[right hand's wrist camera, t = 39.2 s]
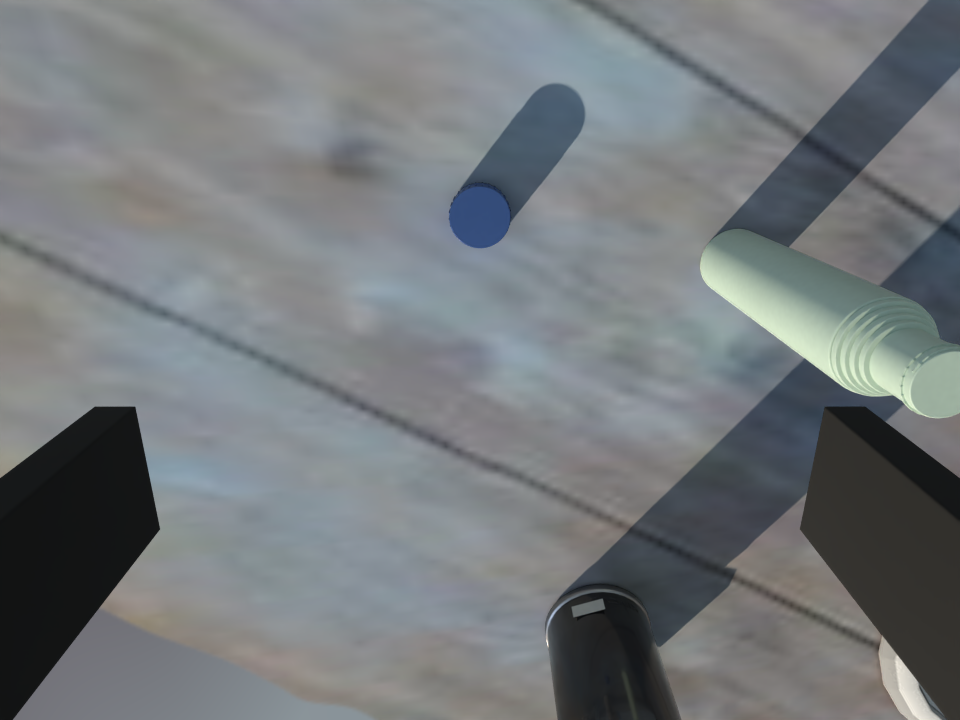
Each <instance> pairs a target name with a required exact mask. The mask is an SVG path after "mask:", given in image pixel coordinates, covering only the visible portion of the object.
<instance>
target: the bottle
mask: <svg viewBox="0 0 960 720" xmlns="http://www.w3.org/2000/svg"><path fill="white" fill-rule="evenodd" d="M700 268H701V274H702V277H703V279H704V281H705V282H706V284H707V285H708V286H709V287H710V288H711V289H713V290H714V291H715V292H717V293H718V294H719V295H721V296H722V297H723V298H725V299H726V300H728V301H729V302H730V303H732V304H733V305H734V306H736V307H737V308H738V309H740V310H741V311H742V312H744V313H745V314H746V315H748V316H749V317H750V318H752V319H753V320H754V321H756V322H757V323H758V324H760V325H761V326H762V327H764V328H765V329H766V330H768V331H769V332H770V333H772V334H773V335H774V336H776V337H777V338H778V339H780V340H781V341H782V342H784V343H785V344H786V345H788V346H789V347H790V348H792V349H793V350H794V351H796V352H797V353H798V354H800V355H801V356H803V357H804V358H805V359H807V360H808V361H809V362H811V363H812V364H813V365H815V366H816V367H817V368H819V369H820V370H821V371H823V372H824V373H825V374H827V375H828V376H829V377H831V378H832V379H833V380H835V381H836V382H837V383H839V384H840V385H841V386H843V387H844V388H846V389H848V390H850V391H852V392H855V393H858V394H862V395H865V396H876V397H878V396H889V395H894V396H895V397H897V398H898V399H900V400H901V401H903V402H904V404H905V405H906V406H907V407H908V408H909V409H910V410H912V411H914V412H916V413H918V414H920V415H924V416H927V417H931V418H946V417H950V416H953V415H956V414H958V413H960V345H957V344H953V343H948V342H946V341H944V340H942V339H940V337H939V333H938V329H937V326H936V324H935V322H934V319H933V318H932V317H931V315H930V314H929V313H928V312H927V311H926V310H925V309H924V308H923V307H922V306H921V305H919V304H918V303H917V302H915V301H913V300H911V299H908V298H906V297H904V296H901V295H899V294H897V293H894V292H892V291H890V290H887V289H885V288H883V287H880V286H878V285H875V284H873V283H871V282H868V281H866V280H864V279H861V278H859V277H857V276H854V275H852V274H850V273H847V272H845V271H843V270H840V269H838V268H836V267H833V266H831V265H829V264H826V263H824V262H822V261H819V260H817V259H815V258H812V257H810V256H808V255H805V254H803V253H801V252H798V251H796V250H793V249H791V248H789V247H786V246H784V245H782V244H779V243H777V242H775V241H772V240H770V239H768V238H765V237H763V236H761V235H758V234H756V233H754V232H751V231H749V230H745V229H731V230H727V231H724V232H722V233H720V234H719V235H717V236H716V237H715V238H713V239H712V240H711V241H710V242H709V244H708V245H707V246H706V248H705V250H704V252H703V254H702V257H701V263H700Z"/></svg>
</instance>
